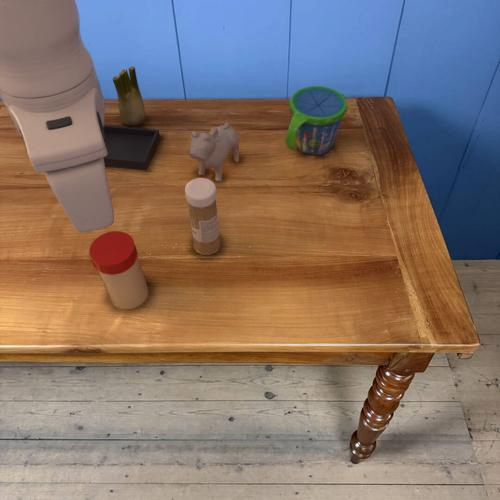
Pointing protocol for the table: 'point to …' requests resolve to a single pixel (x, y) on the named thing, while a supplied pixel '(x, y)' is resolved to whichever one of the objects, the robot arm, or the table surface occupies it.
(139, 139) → the tray
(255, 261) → the table surface
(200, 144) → the dog figurine
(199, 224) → the sprinkles bottle
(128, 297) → the jar
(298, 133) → the snack cup
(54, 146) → the robot arm
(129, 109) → the fennel bulb
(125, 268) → the lid
